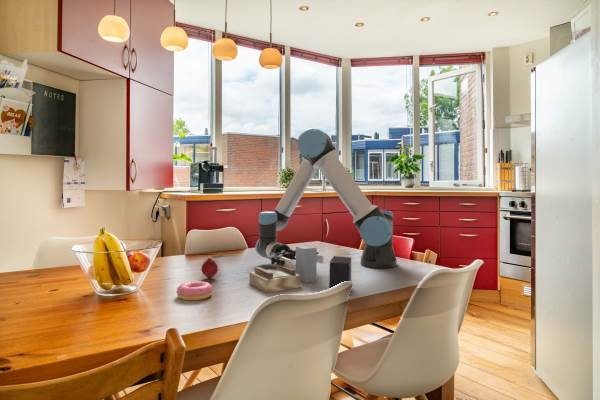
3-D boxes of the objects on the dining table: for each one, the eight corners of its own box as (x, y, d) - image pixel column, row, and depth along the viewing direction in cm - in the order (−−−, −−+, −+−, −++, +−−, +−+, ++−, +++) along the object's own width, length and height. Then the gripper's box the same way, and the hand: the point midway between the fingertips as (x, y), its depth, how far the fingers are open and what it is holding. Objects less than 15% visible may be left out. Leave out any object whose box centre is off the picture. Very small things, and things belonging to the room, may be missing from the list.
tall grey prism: (307, 277, 148) (307, 245, 148) (316, 281, 143) (316, 247, 143) (295, 279, 146) (295, 246, 145) (304, 282, 141) (304, 248, 140)
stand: (282, 278, 146) (282, 263, 146) (300, 287, 135) (301, 270, 135) (249, 283, 139) (249, 267, 139) (266, 292, 128) (266, 274, 128)
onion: (221, 277, 148) (220, 256, 147) (211, 281, 143) (211, 258, 142) (208, 276, 150) (208, 254, 150) (198, 279, 145) (198, 257, 145)
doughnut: (183, 291, 130) (183, 279, 130) (216, 292, 129) (216, 279, 129) (171, 302, 119) (171, 288, 119) (208, 302, 119) (207, 288, 118)
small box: (349, 296, 124) (349, 262, 124) (328, 295, 126) (328, 262, 125) (351, 287, 135) (352, 256, 134) (332, 286, 136) (332, 255, 136)
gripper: (305, 258, 168) (335, 268, 150) (250, 265, 155) (275, 276, 137) (305, 240, 167) (335, 248, 149) (250, 245, 155) (275, 254, 136)
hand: (306, 261), depth 143 cm, fingers open, 13 cm apart
